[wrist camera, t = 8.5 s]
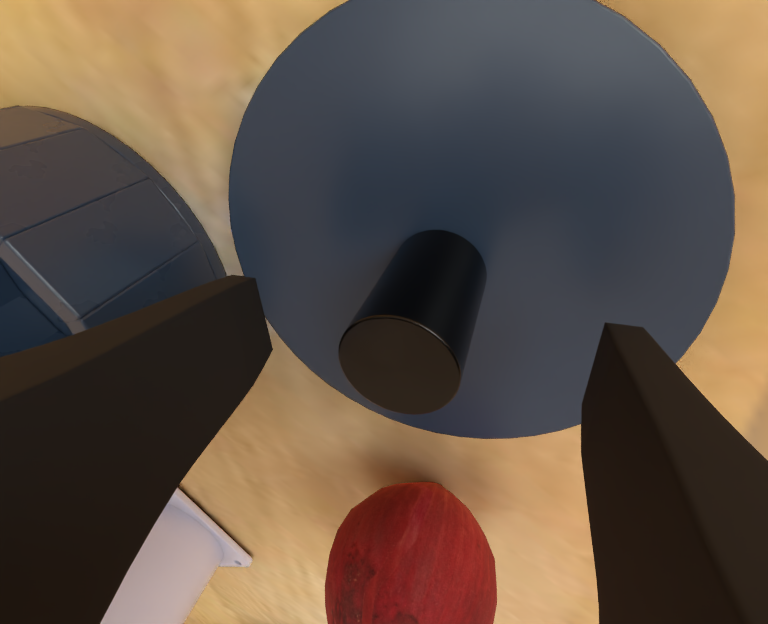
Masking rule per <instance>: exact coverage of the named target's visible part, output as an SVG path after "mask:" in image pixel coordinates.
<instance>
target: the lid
mask: <svg viewBox="0 0 768 624" xmlns="http://www.w3.org/2000/svg"><path fill="white" fill-rule="evenodd" d="M229 210H230V222H231V229H232V234H233V239H234V244H235V248H236V252H237V255H238V258H239V261H240V265H241V268H242V271H243V274H244V276H245V277H252V278H256V282H257V287H258V291H259V295H260V299H261V303H262V307H263V311H264V315H265V317H266V319H267V320H268V321H269V323H270V324H271V326H272V327H273V328H274V330H275V331H276V333H277V334H278V335H279V337H280V338H281V339H282V340H283V341H284V343H285V344H286V345H287V346H288V347H289V348H290V349H291V351H292V352H293V353H294V354H295V355H296V356H297V357H298V358H299V359H300V360H301V361H302V362H303V363H304V364H305V365H306V366H307V367H308V368H309V369H310V370H311V371H313V372H314V373H315V374H316V375H318V376H319V377H320V378H321V379H323V380H324V381H325V382H326V383H328V384H329V385H330V386H332V387H333V388H335V389H336V390H338V391H339V392H341V393H342V394H344V395H345V396H347V397H348V398H350V399H351V400H353V401H355V402H357V403H359V404H360V405H362V406H364V407H366V408H368V409H370V410H372V411H374V412H376V413H378V414H381V415H383V416H385V417H387V418H389V419H392V420H395V421H398V422H401V423H403V424H406V425H409V426H412V427H416V428H419V429H423V430H427V431H431V432H435V433H440V434H446V435H452V436H458V437H469V438H481V439H505V438H518V437H528V436H536V435H541V434H546V433H551V432H556V431H560V430H564V429H567V428H570V427H573V426H576V425H580V424H581V411H582V401H583V397H584V394H585V390H586V387H587V383H588V380H589V376H590V373H591V369H592V366H593V362H594V359H595V355H596V352H597V348H598V345H599V341H600V338H601V334H602V331H603V327H604V324H605V322H607V323H615V324H623V325H631V326H639V327H643V328H644V329H645V330H646V331H647V332H648V333H649V334H650V335H651V336H652V337H653V339H654V340H655V341H656V342H657V343H658V344H659V346H660V347H661V348H662V349H663V350H664V351H665V353H666V354H667V355H668V356H669V357H670V358H671V360H672V361H673V362H674V363H676V362H677V361H678V360H679V359H680V358H681V357H682V356H683V355H684V353H685V352H686V351H687V350H688V348H689V347H690V346H691V344H692V343H693V342H694V340H695V339H696V338H697V336H698V335H699V334H700V332H701V331H702V329H703V327H704V325H705V323H706V321H707V320H708V318H709V316H710V314H711V312H712V310H713V309H714V307H715V305H716V303H717V301H718V298H719V295H720V292H721V289H722V286H723V284H724V281H725V278H726V275H727V272H728V269H729V264H730V258H731V253H732V247H733V241H734V235H735V194H734V188H733V183H732V177H731V172H730V166H729V161H728V156H727V153H726V150H725V148H724V145H723V142H722V140H721V137H720V134H719V132H718V129H717V126H716V124H715V121H714V118H713V116H712V115H711V113H710V111H709V110H708V108H707V106H706V104H705V103H704V101H703V99H702V98H701V96H700V94H699V93H698V91H697V89H696V88H695V86H694V84H693V83H692V81H691V79H690V78H689V77H688V76H687V75H686V74H685V73H684V71H683V70H682V69H681V68H680V67H679V66H678V65H677V63H676V62H675V61H674V60H673V59H672V58H671V57H670V55H669V54H668V53H667V52H666V51H665V50H664V49H663V47H662V46H661V45H660V44H658V43H657V42H656V41H655V40H653V39H652V38H651V37H650V36H648V35H647V34H646V33H645V32H643V31H642V30H641V29H640V28H638V27H637V26H636V25H635V24H633V23H632V22H631V21H630V20H628V19H627V18H626V17H625V16H623V15H621V14H619V13H618V12H616V11H614V10H612V9H610V8H609V7H607V6H605V5H603V4H601V3H599V2H598V1H596V0H348V1H346V2H345V3H343V4H341V5H339V6H337V7H335V8H333V9H332V10H330V11H329V12H327V13H326V14H325V15H323V16H322V17H321V18H319V19H318V20H317V21H316V22H314V23H313V24H312V25H310V26H309V27H308V28H306V29H305V30H304V31H303V32H301V33H300V34H299V35H298V36H297V37H296V38H295V40H294V41H293V42H292V43H291V44H290V45H289V46H288V47H287V48H286V49H285V50H284V51H283V52H282V53H281V54H280V55H279V56H278V58H277V59H276V60H275V61H274V63H273V64H272V66H271V67H270V69H269V70H268V72H267V73H266V75H265V76H264V77H263V79H262V80H261V82H260V83H259V85H258V86H257V88H256V90H255V93H254V95H253V97H252V99H251V101H250V103H249V105H248V107H247V109H246V111H245V113H244V115H243V118H242V122H241V125H240V128H239V131H238V134H237V137H236V140H235V143H234V149H233V155H232V161H231V166H230V175H229Z"/></svg>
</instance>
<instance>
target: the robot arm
mask: <svg viewBox="0 0 768 624" xmlns="http://www.w3.org/2000/svg"><path fill="white" fill-rule="evenodd" d="M272 350H273V348H272V344H271V340H270V336H269V332H268V328H267V324H266V319H265V315H264V311H263V307H262V303H261V299H260V295H259V291H258V287H257V282H256V278H252V277H244V276H236V275H231V276H227V277H224V278H220V279H217V280H214V281H211V282H208V283H206V284H203V285H200V286H198V287H195V288H192V289H190V290H187V291H185V292H182V293H180V294H177V295H175V296H172V297H170V298H167V299H165V300H162V301H160V302H157V303H155V304H152V305H150V306H147V307H145V308H142V309H140V310H137V311H135V312H132V313H130V314H127V315H125V316H122V317H119V318H116V319H114V320H111V321H108V322H106V323H103V324H100V325H98V326H95V327H92V328H90V329H87V330H84V331H82V332H79V333H76V334H73V335H70V336H68V337H65V338H62V339H59V340H56V341H53V342H49V343H46V344H43V345H40V346H37V347H33V348H30V349H27V350H23V351H20V352H17V353H14V354H10V355H6V356H3V357H0V624H184V622H185V620H186V619H187V617H188V615H189V614H190V612H191V610H192V609H193V607H194V605H195V604H196V602H197V600H198V599H199V597H200V595H201V594H202V592H203V591H204V589H205V587H206V586H207V584H208V582H209V581H210V579H211V577H212V576H213V574H214V572H215V571H216V569H217V567H249V566H250V564H251V563H252V561H253V560H252V558H251V556H250V555H248V554H247V553H246V552H245V551H244V550H243V549H242V548H241V547H240V546H239V545H238V544H237V543H236V542H235V541H234V540H233V539H232V538H231V537H229V536H228V535H227V534H226V533H225V532H224V531H223V530H222V529H221V528H220V527H219V526H218V525H217V524H216V523H215V522H214V521H213V520H212V519H211V518H209V517H208V516H207V515H206V514H205V513H204V512H203V511H202V510H201V509H200V508H199V507H198V506H197V505H196V504H195V503H194V502H193V501H192V500H190V499H189V498H188V497H187V496H186V495H185V494H184V493H183V492H182V491H181V490H180V489H179V488H178V486H179V484H180V482H181V481H182V480H183V478H184V477H185V475H186V474H187V472H188V471H189V470H190V468H191V467H192V465H193V464H194V463H195V461H196V460H197V459H198V457H199V456H200V455H201V454H202V452H203V451H204V450H205V448H206V447H207V446H208V444H209V443H210V442H211V440H212V439H213V438H214V437H215V435H216V434H217V433H218V431H219V430H220V429H221V427H222V426H223V425H224V424H225V422H226V421H227V420H228V418H229V417H230V416H231V414H232V413H233V412H234V410H235V409H236V408H237V406H238V405H239V404H240V402H241V401H242V400H243V398H244V397H245V396H246V394H247V393H248V392H249V390H250V389H251V387H252V386H253V385H254V383H255V381H256V379H257V378H258V376H259V374H260V373H261V371H262V369H263V367H264V365H265V363H266V361H267V360H268V358H269V356H270V354H271V352H272ZM581 455H582V464H583V473H584V481H585V489H586V497H587V505H588V513H589V521H590V529H591V537H592V545H593V553H594V561H595V569H596V578H597V590H598V602H599V624H768V461H767V460H766V459H765V458H764V457H763V456H762V455H761V454H760V453H759V452H758V451H757V450H756V449H755V448H754V447H753V446H752V445H751V444H750V443H749V442H748V441H747V440H746V439H745V438H744V437H743V436H742V435H741V434H740V433H739V432H738V431H737V430H736V429H735V428H734V427H733V426H732V425H731V424H730V423H729V422H728V421H727V420H726V419H725V418H724V417H723V416H722V415H721V414H720V413H719V412H718V410H717V409H716V408H715V407H714V406H713V405H712V404H711V403H710V402H709V401H708V400H707V399H706V398H705V397H704V395H703V394H702V393H701V392H700V391H699V390H698V389H697V388H696V387H695V386H694V384H693V383H692V382H691V381H690V380H689V379H688V378H687V377H686V375H685V374H684V373H683V372H682V371H681V370H680V369H679V367H678V366H677V365H676V364H675V363H674V362H673V361H672V360H671V358H670V357H669V356H668V355H667V354H666V353H665V351H664V350H663V349H662V348H661V347H660V346H659V344H658V343H657V342H656V341H655V340H654V339H653V337H652V336H651V335H650V334H649V333H648V332H647V331H646V330H645V329H644V328H643V327H639V326H631V325H623V324H615V323H607V322H605V324H604V327H603V331H602V334H601V338H600V341H599V345H598V348H597V352H596V355H595V359H594V362H593V366H592V369H591V373H590V376H589V380H588V383H587V387H586V390H585V394H584V397H583V401H582V411H581Z"/></svg>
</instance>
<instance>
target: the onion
mask: <svg viewBox="0 0 768 624" xmlns="http://www.w3.org/2000/svg"><path fill="white" fill-rule="evenodd" d="M496 605H497V586H496V572H495V559H494V556H493V554H492V551H491V549H490V546H489V544H488V541H487V539H486V536H485V535H484V533H483V531H482V529H481V527H480V526H479V524H478V522H477V521H476V519H475V518H474V516H473V515H472V513H471V512H470V510H469V509H468V508H467V507H466V506H465V505H464V504H463V503H462V502H461V501H460V500H458V499H457V498H456V497H455V496H454V495H453V494H452V493H451V492H450V491H448V490H446V489H445V488H444V487H442V485H440V484H438V483H434V482H413V483H398V484H394V485H390V486H387V487H384V488H381V489H380V490H378V491H377V492H375V493H374V494H372V495H371V496H369V497H368V498H366V499H365V500H364V501H362V502H361V503H359V504H358V505H357V506H355V507H354V508H352V509H351V510H350V512H349V513H348V515H347V516H346V518H345V519H344V521H343V523H342V524H341V526H340V527H339V529H338V531H337V534H336V536H335V539H334V542H333V545H332V548H331V551H330V555H329V561H328V568H327V575H326V581H325V607H326V614H327V621H328V624H493V621H494V616H495V610H496Z"/></svg>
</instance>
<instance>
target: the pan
mask: <svg viewBox="0 0 768 624" xmlns="http://www.w3.org/2000/svg"><path fill="white" fill-rule="evenodd" d="M224 277H226V274H225V271H224V268H223V265H222V263H221V261H220V259H219V257H218V255H217V252H216V250H215V248H214V246H213V244H212V242H211V241H210V239H209V237H208V236H207V234H206V232H205V230H204V229H203V227H202V225H201V224H200V222H199V221H198V220H197V218H196V217H195V215H194V214H193V213H192V211H191V210H190V208H189V207H188V205H187V204H186V203H185V202H184V201H183V199H182V198H181V197H180V196H179V195H178V193H177V192H176V191H175V190H174V189H173V188H172V186H171V185H170V184H169V183H168V182H167V181H166V180H165V179H164V178H163V177H162V176H161V175H160V174H159V173H158V172H157V171H156V170H155V169H154V168H153V167H152V166H151V165H150V164H149V163H147V162H146V161H145V160H144V159H143V158H142V157H140V156H139V155H138V154H137V153H136V152H134V151H133V150H132V149H131V148H129V147H128V146H127V145H125V144H124V143H122V142H121V141H119V140H118V139H117V138H115V137H114V136H112V135H111V134H109V133H107V132H106V131H104V130H102V129H100V128H98V127H97V126H95V125H93V124H91V123H89V122H87V121H85V120H83V119H80V118H78V117H75V116H73V115H71V114H68V113H65V112H61V111H57V110H53V109H50V108H45V107H35V106H13V107H8V108H2V109H0V357H3V356H6V355H10V354H14V353H17V352H20V351H23V350H27V349H30V348H33V347H37V346H40V345H43V344H46V343H49V342H53V341H56V340H59V339H62V338H65V337H68V336H70V335H73V334H76V333H79V332H82V331H84V330H87V329H90V328H92V327H95V326H98V325H100V324H103V323H106V322H108V321H111V320H114V319H116V318H119V317H122V316H125V315H127V314H130V313H132V312H135V311H137V310H140V309H142V308H145V307H147V306H150V305H152V304H155V303H157V302H160V301H162V300H165V299H167V298H170V297H172V296H175V295H177V294H180V293H182V292H185V291H187V290H190V289H192V288H195V287H198V286H200V285H203V284H206V283H208V282H211V281H214V280H217V279H220V278H224Z"/></svg>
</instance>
